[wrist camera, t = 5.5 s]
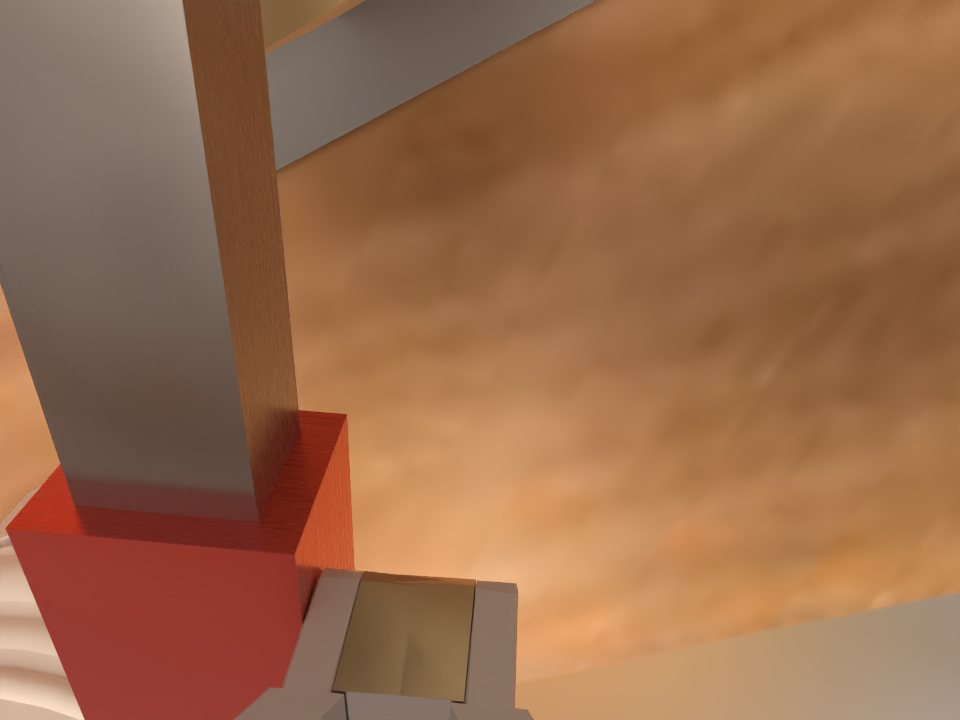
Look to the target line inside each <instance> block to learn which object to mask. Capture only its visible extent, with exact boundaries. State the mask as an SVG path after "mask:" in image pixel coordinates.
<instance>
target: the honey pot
mask: <svg viewBox="0 0 960 720" xmlns="http://www.w3.org/2000/svg"><path fill="white" fill-rule="evenodd" d="M42 485H43V484H42ZM42 485H40V486H39V487H37V488H35V489H33V490H31V491H29V492H28V493H27V494H26V495H25V496H24V497H23V499H22V500H21V501H20V502H19V503H18V504H17V505H16V507H15V508H14V509H13V510H12V511H11V512H10V513H9V515H8V516H7V517H6V518H5V519H4V520H3V521H2V523H1V524H0V720H84V717H83V715H82V712H81V710H80V707H79V705H78V703H77V700H76V698H75V695H74V693H73V691H72V688H71V686H70V683H69V681H68V678H67V676H66V674H65V671H64V669H63V666H62V664H61V662H60V659H59V657H58V654H57V652H56V649H55V647H54V645H53V642H52V640H51V637H50V635H49V633H48V630H47V628H46V625H45V623H44V620H43V618H42V616H41V613H40V611H39V608H38V606H37V604H36V601H35V599H34V596H33V594H32V591H31V589H30V587H29V584H28V582H27V579H26V577H25V575H24V572H23V570H22V567H21V565H20V563H19V560H18V558H17V555H16V553H15V550H14V548H13V546H12V543H11V541H10V538H9V536H8V534H7V531H6V529H5V528H6V527H7V526H8V524H9V523H10V522H11V521H12V520H13V519H14V518H15V516H16V515H17V514H18V513H19V512H20V511H21V509H22V508H23V507H24V506H25V505H26V504H27V502H28V501H29V500H30V499H31V498H32V497H33V495H34V494H35V493H36V492H37V491H38V490H39V488H40V487H41V486H42Z"/></svg>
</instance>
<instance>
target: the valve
mask: <svg viewBox="0 0 960 720" xmlns="http://www.w3.org/2000/svg"><path fill="white" fill-rule="evenodd" d="M594 1H596V0H260V6H261V16H262V27H263V38H264V48H265V59H266V70H267V80H268V91H269V101H270V112H271V123H272V133H273V144H274V154H275V165H276V171H277V170H279V169H280V168H282V167H284V166H286V165H288V164H290V163H292V162H294V161H295V160H297V159H299V158H301V157H303V156H305V155H307V154H309V153H310V152H312V151H314V150H316V149H318V148H320V147H322V146H324V145H326V144H327V143H329V142H331V141H333V140H335V139H337V138H339V137H341V136H342V135H344V134H346V133H348V132H350V131H352V130H354V129H356V128H357V127H359V126H361V125H363V124H365V123H367V122H369V121H371V120H373V119H374V118H376V117H378V116H380V115H382V114H384V113H386V112H388V111H389V110H391V109H393V108H395V107H397V106H399V105H401V104H403V103H404V102H406V101H408V100H410V99H412V98H414V97H416V96H418V95H419V94H421V93H423V92H425V91H427V90H429V89H431V88H433V87H435V86H436V85H438V84H440V83H442V82H444V81H446V80H448V79H450V78H451V77H453V76H455V75H457V74H459V73H461V72H463V71H465V70H466V69H468V68H470V67H472V66H474V65H476V64H478V63H480V62H482V61H483V60H485V59H487V58H489V57H491V56H493V55H495V54H497V53H498V52H500V51H502V50H504V49H506V48H508V47H510V46H512V45H513V44H515V43H517V42H519V41H521V40H523V39H525V38H527V37H529V36H530V35H532V34H534V33H536V32H538V31H540V30H542V29H544V28H545V27H547V26H549V25H551V24H553V23H555V22H557V21H559V20H560V19H562V18H564V17H566V16H568V15H570V14H572V13H574V12H576V11H577V10H579V9H581V8H583V7H585V6H587V5H589V4H591V3H592V2H594Z"/></svg>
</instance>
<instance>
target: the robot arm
mask: <svg viewBox="0 0 960 720" xmlns="http://www.w3.org/2000/svg"><path fill="white" fill-rule="evenodd" d="M475 590H476V593H475ZM517 610H518V589H517V584H515V583H502V582H490V581H477V583H476V580H475V579H460V578H444V577H429V576H414V575H396V574H386V573H377V572H368V571H355V570H345V569H334V568H325V569H324V570H323V572H322V573H321V575H320V576H319V578H318V580H317V583H316V586H315V589H314V592H313V595H312V598H311V601H310V604H309V607H308V610H307V613H306V616H305V619H304V622H303V625H302V628H301V631H300V634H299V637H298V640H297V643H296V646H295V649H294V652H293V655H292V658H291V661H290V665H289V668H288V671H287V674H286V677H285V680H284V683H283V686H282V688H276V687H269V688H268V689H267V690H266V691H265V692H263V693H262V694H261V695H260V696H259V697H258V698H257V699H256V700H255V701H254V702H253V703H251V704H250V705H249V706H248V707H247V708H246V709H245V710H244V711H243V712H242V713H241V714H239V715H238V716H237V717H236V718H235V719H234V720H533V718H532V716H531V715H530V713H529V711H528V710H526V709H519V708H515V683H516V647H517Z"/></svg>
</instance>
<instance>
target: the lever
mask: <svg viewBox="0 0 960 720" xmlns="http://www.w3.org/2000/svg"><path fill="white" fill-rule="evenodd" d="M0 283H1V286H2V289H3V292H4V295H5V298H6V301H7V304H8V307H9V310H10V313H11V316H12V319H13V322H14V325H15V328H16V331H17V334H18V337H19V340H20V343H21V346H22V349H23V352H24V355H25V358H26V361H27V364H28V367H29V370H30V373H31V376H32V379H33V382H34V385H35V388H36V391H37V394H38V397H39V400H40V403H41V406H42V409H43V412H44V415H45V418H46V421H47V424H48V427H49V430H50V433H51V436H52V439H53V442H54V445H55V448H56V451H57V454H58V457H59V460H60V463H61V464H60V465H59V466H58V468H57V469H56V470H55V471H54V472H53V473H52V475H51V476H50V477H49V478H48V479H47V480H46V482H45V483H44V484H43V485H42V486H41V487H40V488H39V490H38V491H37V492H36V493H35V494H34V495H33V497H32V498H31V499H30V500H29V501H28V502H27V504H26V505H25V506H24V507H23V508H22V509H21V511H20V512H19V513H18V514H17V515H16V516H15V518H14V519H13V520H12V521H11V522H10V523H9V524H8V526H7V527H6V528H5V529H6V531H7V534H8V536H9V538H10V541H11V543H12V546H13V548H14V550H15V553H16V555H17V558H18V560H19V563H20V565H21V567H22V570H23V572H24V575H25V577H26V579H27V582H28V584H29V587H30V589H31V591H32V594H33V596H34V599H35V601H36V604H37V606H38V608H39V611H40V613H41V616H42V618H43V620H44V623H45V625H46V628H47V630H48V633H49V635H50V637H51V640H52V642H53V645H54V647H55V649H56V652H57V654H58V657H59V659H60V662H61V664H62V666H63V669H64V671H65V674H66V676H67V678H68V681H69V683H70V686H71V688H72V691H73V693H74V695H75V698H76V700H77V703H78V705H79V707H80V710H81V712H82V715H83V717H84V720H234V719H235V718H236V717H237V716H238V715H239V714H241V713H242V712H243V711H244V710H245V709H246V708H247V707H248V706H249V705H250V704H251V703H253V702H254V701H255V700H256V699H257V698H258V697H259V696H260V695H261V694H262V693H263V692H265V691H266V690H267V689H268V688H269V687H276V688H282V686H283V683H284V680H285V677H286V674H287V671H288V668H289V665H290V661H291V658H292V655H293V652H294V649H295V646H296V643H297V640H298V637H299V634H300V631H301V628H302V625H303V622H304V619H305V616H306V613H307V610H308V607H309V604H310V601H311V598H312V595H313V592H314V589H315V586H316V583H317V580H318V578H319V576H320V575H321V573H322V572H323V570H324V569H325V568H334V569H345V570H355V567H354V547H353V526H352V506H351V486H350V465H349V445H348V425H347V414H336V413H324V412H313V411H301V410H299V409H298V398H297V388H296V377H295V367H294V356H293V345H292V335H291V324H290V314H289V303H288V292H287V282H286V271H285V260H284V250H283V239H282V229H281V218H280V207H279V197H278V186H277V176H276V165H275V154H274V144H273V133H272V123H271V112H270V101H269V91H268V80H267V70H266V59H265V48H264V38H263V27H262V16H261V6H260V0H0Z"/></svg>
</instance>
